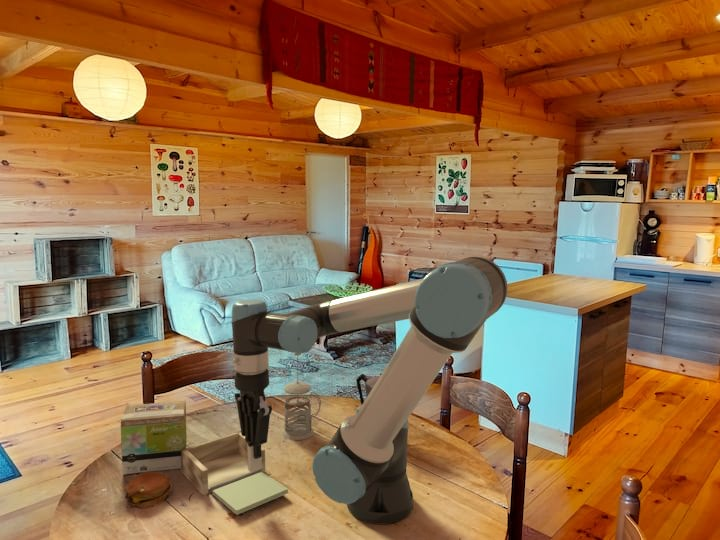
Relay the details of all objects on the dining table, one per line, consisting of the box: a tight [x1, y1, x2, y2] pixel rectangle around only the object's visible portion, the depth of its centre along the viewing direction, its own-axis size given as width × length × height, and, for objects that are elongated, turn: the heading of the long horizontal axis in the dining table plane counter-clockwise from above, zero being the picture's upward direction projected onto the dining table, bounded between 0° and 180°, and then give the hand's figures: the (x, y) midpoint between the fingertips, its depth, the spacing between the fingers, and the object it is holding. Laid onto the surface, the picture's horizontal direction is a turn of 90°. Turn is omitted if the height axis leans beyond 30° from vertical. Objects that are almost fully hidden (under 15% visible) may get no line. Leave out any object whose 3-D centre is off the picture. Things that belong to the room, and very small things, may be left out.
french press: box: [280, 352, 322, 441], centre depth 151 cm, size 10×12×25 cm
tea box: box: [120, 400, 187, 476], centre depth 133 cm, size 15×10×15 cm, turn 106°
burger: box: [124, 471, 172, 509], centre depth 119 cm, size 10×9×5 cm
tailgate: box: [210, 469, 289, 516], centre depth 120 cm, size 13×13×1 cm
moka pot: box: [356, 372, 383, 405], centre depth 148 cm, size 10×15×20 cm, turn 58°
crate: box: [181, 430, 266, 496], centre depth 130 cm, size 13×16×6 cm
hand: (255, 469), depth 117 cm, fingers closed
